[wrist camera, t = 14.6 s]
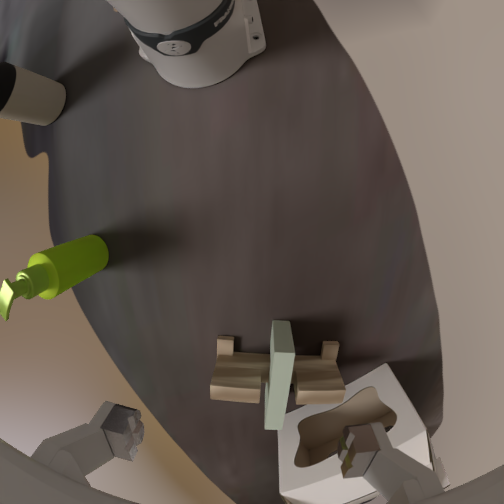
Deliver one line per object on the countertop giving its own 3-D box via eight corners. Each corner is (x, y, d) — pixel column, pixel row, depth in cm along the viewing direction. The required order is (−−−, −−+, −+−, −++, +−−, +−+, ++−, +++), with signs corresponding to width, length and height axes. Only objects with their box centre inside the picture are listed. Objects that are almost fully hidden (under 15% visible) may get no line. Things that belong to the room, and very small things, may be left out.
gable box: (387, 360, 43) (460, 485, 16) (405, 402, 45) (461, 508, 18) (275, 417, 46) (277, 553, 19) (307, 450, 49) (319, 565, 21)
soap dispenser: (72, 258, 41) (-15, 299, 22) (90, 226, 40) (-4, 256, 21) (95, 282, 42) (14, 336, 23) (115, 252, 41) (27, 297, 21)
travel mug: (69, 112, 36) (-8, 91, 19) (37, 133, 37) (-38, 124, 19) (65, 75, 35) (-4, 45, 17) (34, 97, 35) (-35, 79, 18)
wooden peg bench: (218, 335, 43) (208, 368, 34) (337, 341, 42) (352, 374, 34) (218, 376, 45) (209, 412, 36) (328, 381, 44) (339, 416, 35)
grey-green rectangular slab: (272, 320, 42) (274, 352, 33) (289, 320, 42) (295, 353, 33) (265, 392, 45) (264, 429, 36) (279, 392, 45) (281, 429, 36)
